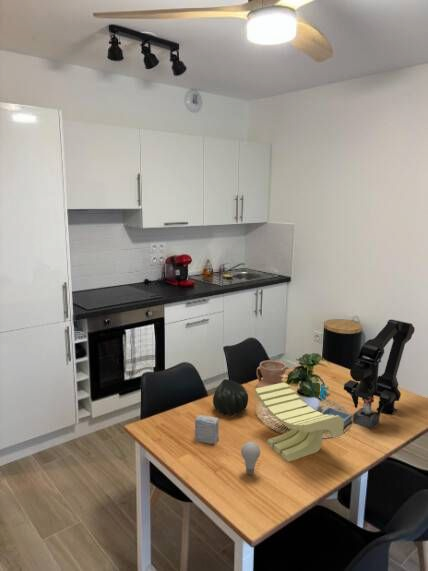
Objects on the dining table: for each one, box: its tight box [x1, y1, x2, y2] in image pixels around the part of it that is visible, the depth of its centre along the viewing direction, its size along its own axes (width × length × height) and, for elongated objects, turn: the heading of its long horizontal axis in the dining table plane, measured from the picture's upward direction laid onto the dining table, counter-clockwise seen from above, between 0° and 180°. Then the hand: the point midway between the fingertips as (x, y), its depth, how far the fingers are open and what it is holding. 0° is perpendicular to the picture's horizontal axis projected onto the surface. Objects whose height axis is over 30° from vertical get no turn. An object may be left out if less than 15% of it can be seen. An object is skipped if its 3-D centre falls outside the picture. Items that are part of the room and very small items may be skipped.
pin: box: [361, 396, 375, 417], centre depth 171 cm, size 4×4×11 cm
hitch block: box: [352, 407, 381, 430], centre depth 171 cm, size 8×8×4 cm
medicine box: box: [194, 414, 220, 446], centre depth 157 cm, size 8×4×9 cm, turn 71°
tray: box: [320, 406, 353, 429], centre depth 172 cm, size 10×10×3 cm
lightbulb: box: [240, 441, 261, 475], centre depth 137 cm, size 6×6×11 cm
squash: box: [212, 378, 249, 417], centre depth 179 cm, size 14×15×15 cm
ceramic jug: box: [256, 359, 288, 388], centre depth 197 cm, size 18×14×14 cm
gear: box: [319, 382, 330, 401], centre depth 196 cm, size 11×6×10 cm
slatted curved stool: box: [254, 382, 344, 462], centre depth 153 cm, size 30×16×18 cm, turn 27°
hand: (367, 411), depth 171 cm, fingers open, 9 cm apart
